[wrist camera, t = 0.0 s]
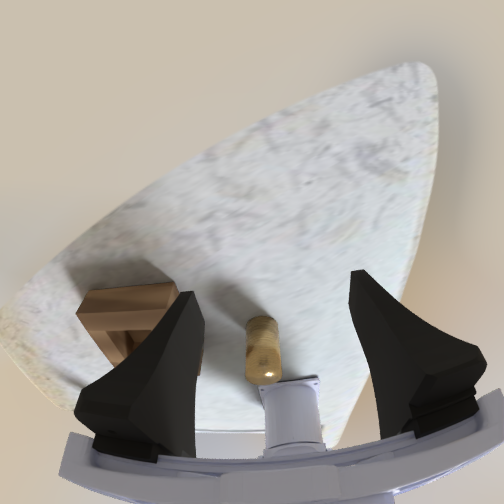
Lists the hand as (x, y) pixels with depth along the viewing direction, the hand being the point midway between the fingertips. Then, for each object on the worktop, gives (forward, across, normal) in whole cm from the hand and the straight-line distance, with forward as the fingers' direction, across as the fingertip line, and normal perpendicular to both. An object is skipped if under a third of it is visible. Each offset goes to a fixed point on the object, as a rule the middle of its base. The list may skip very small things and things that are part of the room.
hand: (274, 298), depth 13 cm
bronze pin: (+10, +2, +13) cm, 17 cm away
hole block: (+10, +14, +11) cm, 20 cm away
